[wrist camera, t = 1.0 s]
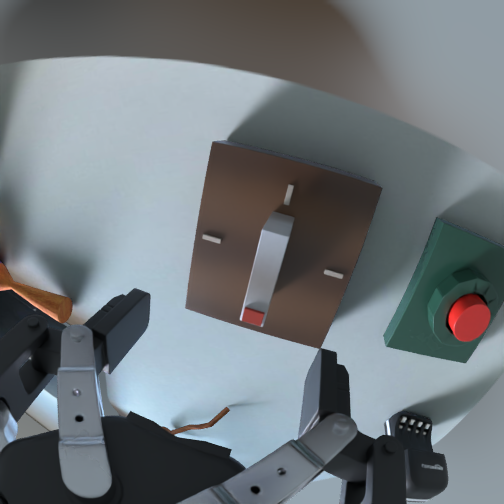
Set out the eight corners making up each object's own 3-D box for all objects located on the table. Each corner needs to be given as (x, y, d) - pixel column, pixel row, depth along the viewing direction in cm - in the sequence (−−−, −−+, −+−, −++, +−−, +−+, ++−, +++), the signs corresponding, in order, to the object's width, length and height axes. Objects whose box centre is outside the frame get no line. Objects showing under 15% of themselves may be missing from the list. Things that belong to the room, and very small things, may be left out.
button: (459, 288, 20) (467, 299, 19) (489, 298, 20) (497, 309, 18) (440, 325, 22) (446, 337, 20) (469, 333, 21) (476, 344, 20)
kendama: (58, 342, 31) (-29, 291, 32) (81, 310, 36) (-7, 269, 37) (46, 309, 28) (-42, 260, 29) (73, 277, 33) (-17, 238, 33)
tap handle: (272, 210, 21) (261, 230, 17) (295, 217, 21) (289, 238, 17) (252, 290, 24) (238, 322, 20) (272, 296, 24) (262, 329, 20)
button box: (436, 216, 22) (452, 229, 19) (515, 251, 21) (533, 266, 18) (383, 335, 27) (388, 359, 23) (461, 353, 26) (471, 375, 22)
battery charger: (439, 415, 29) (455, 489, 19) (419, 432, 31) (430, 504, 20) (401, 403, 29) (413, 486, 19) (381, 421, 31) (386, 501, 21)
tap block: (224, 140, 23) (211, 141, 20) (374, 180, 22) (383, 188, 19) (196, 292, 29) (184, 309, 26) (320, 328, 28) (320, 350, 25)
